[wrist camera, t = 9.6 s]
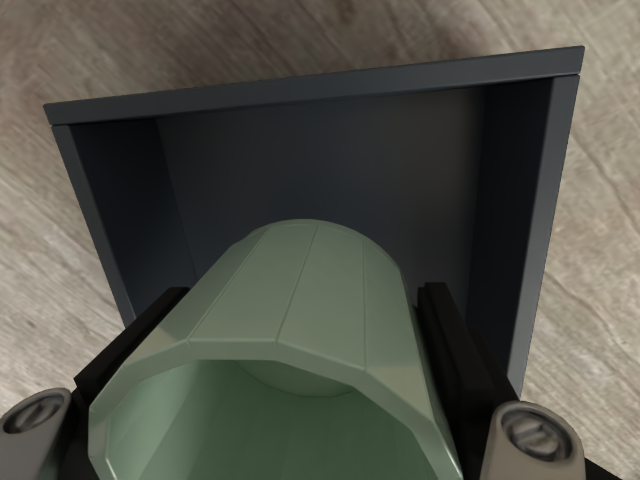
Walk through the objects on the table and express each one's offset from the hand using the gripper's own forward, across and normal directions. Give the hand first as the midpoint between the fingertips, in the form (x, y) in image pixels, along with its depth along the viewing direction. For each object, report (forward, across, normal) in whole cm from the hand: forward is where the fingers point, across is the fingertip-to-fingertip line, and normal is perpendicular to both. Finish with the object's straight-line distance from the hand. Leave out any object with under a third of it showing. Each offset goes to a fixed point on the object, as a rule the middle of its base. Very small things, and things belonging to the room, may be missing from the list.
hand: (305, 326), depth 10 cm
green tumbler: (+1, 0, 0) cm, 1 cm away
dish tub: (+6, 0, 0) cm, 6 cm away
